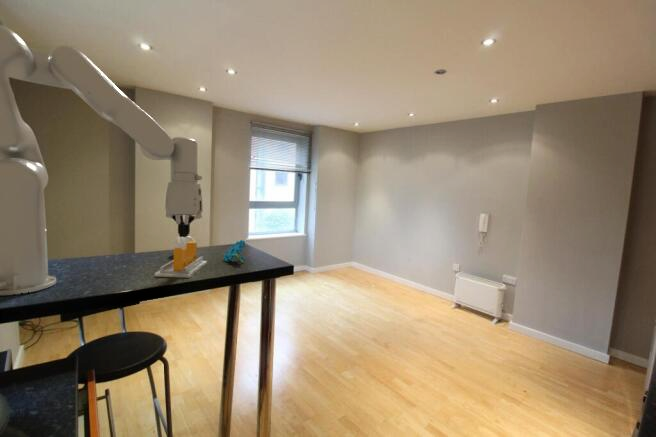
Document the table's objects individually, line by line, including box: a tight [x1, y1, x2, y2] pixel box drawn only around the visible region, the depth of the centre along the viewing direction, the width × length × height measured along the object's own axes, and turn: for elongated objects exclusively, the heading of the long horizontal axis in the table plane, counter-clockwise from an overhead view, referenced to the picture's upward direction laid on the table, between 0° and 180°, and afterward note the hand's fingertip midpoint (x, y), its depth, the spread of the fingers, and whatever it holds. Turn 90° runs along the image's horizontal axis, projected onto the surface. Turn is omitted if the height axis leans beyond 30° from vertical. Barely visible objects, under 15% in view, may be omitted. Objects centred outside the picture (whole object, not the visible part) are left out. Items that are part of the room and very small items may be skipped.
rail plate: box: [154, 256, 208, 279], centre depth 98 cm, size 16×10×3 cm, turn 4°
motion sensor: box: [173, 235, 197, 251], centre depth 117 cm, size 8×8×8 cm
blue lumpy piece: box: [222, 239, 246, 263], centre depth 113 cm, size 11×6×10 cm
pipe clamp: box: [173, 241, 198, 271], centre depth 97 cm, size 12×4×6 cm, turn 4°
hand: (183, 236), depth 97 cm, fingers closed
